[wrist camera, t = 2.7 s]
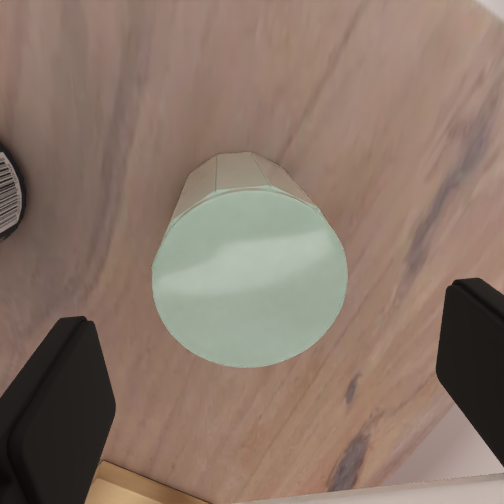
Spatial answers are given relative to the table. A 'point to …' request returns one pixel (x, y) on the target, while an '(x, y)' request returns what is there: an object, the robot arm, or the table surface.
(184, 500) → the cup stand
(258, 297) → the cup
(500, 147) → the table surface
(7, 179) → the beverage can
